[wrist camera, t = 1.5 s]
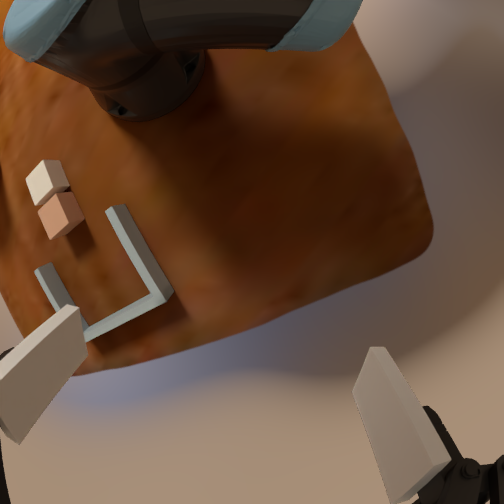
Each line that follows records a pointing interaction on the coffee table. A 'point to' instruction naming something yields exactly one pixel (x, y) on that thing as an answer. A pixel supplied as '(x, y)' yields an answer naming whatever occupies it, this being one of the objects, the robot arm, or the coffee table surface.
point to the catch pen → (142, 263)
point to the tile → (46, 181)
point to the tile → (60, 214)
